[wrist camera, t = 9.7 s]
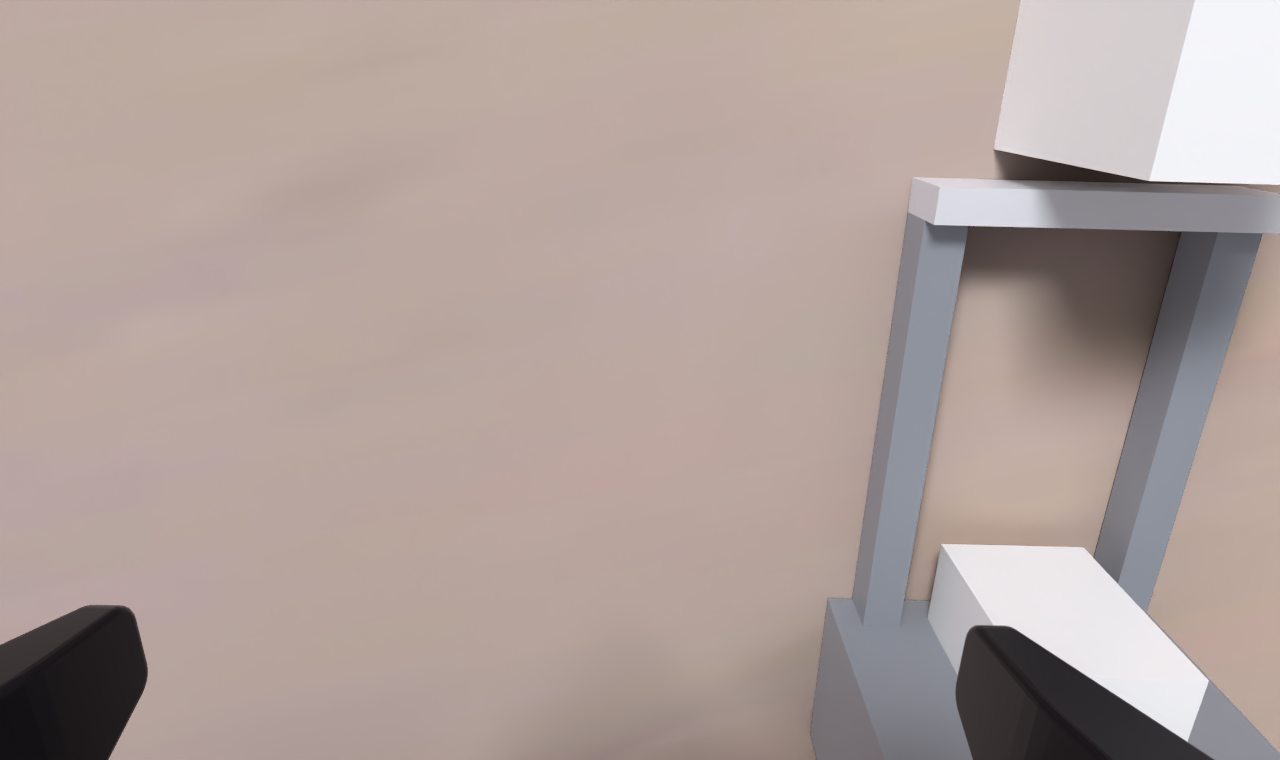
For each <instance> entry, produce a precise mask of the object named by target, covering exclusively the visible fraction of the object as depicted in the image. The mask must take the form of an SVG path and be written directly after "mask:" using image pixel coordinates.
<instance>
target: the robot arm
mask: <svg viewBox="0 0 1280 760" xmlns="http://www.w3.org/2000/svg"><path fill="white" fill-rule="evenodd" d="M147 676H148V668H147V662H146V658H145V654H144V650H143V646H142V642H141V638H140V634H139V630H138V626H137V622H136V618H135V615H134V613H133V612H132V611H131V610H130V609H129V608H127V607H125V606H120V605H89V606H84V607H82V608H79V609H77V610H75V611H73V612H71V613H68V614H66V615H64V616H62V617H60V618H58V619H56V620H53V621H51V622H49V623H47V624H45V625H43V626H40V627H38V628H36V629H34V630H32V631H30V632H27V633H25V634H23V635H21V636H19V637H17V638H14V639H12V640H10V641H8V642H6V643H4V644H1V645H0V760H108V759H109V757H110V755H111V753H112V752H113V750H114V748H115V746H116V744H117V742H118V740H119V738H120V736H121V734H122V732H123V730H124V728H125V726H126V724H127V722H128V720H129V718H130V717H131V715H132V713H133V711H134V709H135V707H136V705H137V703H138V701H139V699H140V697H141V695H142V693H143V691H144V688H145V685H146V682H147ZM955 697H956V705H957V709H958V713H959V716H960V719H961V723H962V726H963V729H964V733H965V736H966V739H967V743H968V746H969V749H970V752H971V756H972V759H973V760H1215V759H1213V758H1212V757H1210V756H1208V755H1207V754H1205V753H1204V752H1202V751H1201V750H1199V749H1198V748H1196V747H1195V746H1193V745H1192V744H1190V743H1189V742H1187V741H1186V740H1184V739H1182V738H1181V737H1179V736H1178V735H1176V734H1175V733H1173V732H1172V731H1170V730H1169V729H1167V728H1166V727H1164V726H1163V725H1161V724H1160V723H1158V722H1156V721H1155V720H1153V719H1152V718H1150V717H1149V716H1147V715H1146V714H1144V713H1143V712H1141V711H1140V710H1138V709H1137V708H1135V707H1134V706H1132V705H1131V704H1129V703H1127V702H1126V701H1124V700H1123V699H1121V698H1120V697H1118V696H1117V695H1115V694H1114V693H1112V692H1111V691H1109V690H1108V689H1106V688H1105V687H1103V686H1101V685H1100V684H1098V683H1097V682H1095V681H1094V680H1092V679H1091V678H1089V677H1088V676H1086V675H1085V674H1083V673H1082V672H1080V671H1079V670H1077V669H1076V668H1074V667H1072V666H1071V665H1069V664H1068V663H1066V662H1065V661H1063V660H1062V659H1060V658H1059V657H1057V656H1056V655H1054V654H1053V653H1051V652H1050V651H1048V650H1046V649H1045V648H1043V647H1042V646H1040V645H1039V644H1037V643H1036V642H1034V641H1033V640H1031V639H1030V638H1028V637H1027V636H1025V635H1024V634H1022V633H1020V632H1019V631H1017V630H1016V629H1014V628H1012V627H1009V626H1002V625H975V626H973V627H972V628H970V629H969V631H968V633H967V635H966V638H965V643H964V647H963V652H962V657H961V662H960V667H959V671H958V676H957V681H956V687H955Z"/></svg>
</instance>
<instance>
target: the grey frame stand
mask: <svg viewBox="0 0 1280 760" xmlns="http://www.w3.org/2000/svg"><path fill="white" fill-rule="evenodd" d="M969 226H996V227H1035V228H1074V229H1113V230H1152V231H1182V232H1181V235H1180V239H1179V243H1178V247H1177V250H1176V254H1175V258H1174V261H1173V265H1172V269H1171V273H1170V276H1169V280H1168V284H1167V288H1166V291H1165V295H1164V299H1163V302H1162V306H1161V310H1160V314H1159V317H1158V321H1157V325H1156V328H1155V332H1154V336H1153V340H1152V343H1151V347H1150V351H1149V354H1148V358H1147V362H1146V366H1145V369H1144V373H1143V377H1142V380H1141V384H1140V388H1139V392H1138V395H1137V399H1136V403H1135V407H1134V410H1133V414H1132V418H1131V421H1130V425H1129V429H1128V433H1127V436H1126V440H1125V444H1124V447H1123V451H1122V455H1121V459H1120V462H1119V466H1118V470H1117V473H1116V477H1115V481H1114V485H1113V488H1112V492H1111V496H1110V499H1109V503H1108V507H1107V511H1106V514H1105V518H1104V522H1103V526H1102V529H1101V533H1100V537H1099V540H1098V544H1097V548H1096V552H1095V555H1094V558H1093V557H1092V556H1091V555H1090V554H1089V553H1088V552H1087V551H1086V550H1085V549H1084V547H1047V546H1005V545H963V544H941V549H940V554H939V560H938V565H937V570H936V576H935V581H934V586H933V592H932V597H931V601H916V600H904V598H905V592H906V586H907V581H908V575H909V569H910V563H911V558H912V552H913V546H914V540H915V534H916V529H917V523H918V517H919V511H920V505H921V500H922V494H923V488H924V482H925V476H926V471H927V465H928V459H929V453H930V447H931V442H932V436H933V430H934V424H935V418H936V413H937V407H938V401H939V395H940V389H941V384H942V378H943V372H944V366H945V360H946V355H947V349H948V343H949V337H950V331H951V326H952V320H953V314H954V308H955V302H956V297H957V291H958V285H959V279H960V273H961V268H962V262H963V256H964V250H965V244H966V239H967V233H968V227H969ZM1263 233H1269V234H1280V193H1275V192H1269V191H1264V190H1258V189H1252V188H1247V187H1241V186H1229V185H1190V184H1151V183H1113V182H1074V181H1036V180H997V179H958V178H920V177H913V180H912V187H911V194H910V201H909V208H908V215H907V221H906V228H905V235H904V242H903V249H902V256H901V263H900V270H899V277H898V284H897V291H896V298H895V305H894V312H893V319H892V326H891V332H890V339H889V346H888V353H887V360H886V367H885V374H884V381H883V388H882V395H881V402H880V409H879V416H878V423H877V430H876V436H875V443H874V450H873V457H872V464H871V471H870V478H869V485H868V492H867V499H866V506H865V513H864V520H863V527H862V534H861V540H860V547H859V554H858V561H857V568H856V575H855V582H854V589H853V596H852V599H830V598H828V600H827V608H826V615H825V623H824V631H823V638H822V646H821V653H820V661H819V669H818V676H817V684H816V692H815V699H814V707H813V715H812V722H811V730H810V735H811V739H812V743H813V747H814V751H815V755H816V759H817V760H973V759H972V756H971V752H970V749H969V746H968V743H967V739H966V736H965V733H964V729H963V726H962V723H961V719H960V716H959V713H958V709H957V705H956V697H955V687H956V681H957V676H958V671H959V667H960V662H961V657H962V652H963V647H964V643H965V638H966V635H967V633H968V631H969V629H970V628H972V627H973V626H975V625H1002V626H1009V627H1012V628H1014V629H1016V630H1017V631H1019V632H1020V633H1022V634H1024V635H1025V636H1027V637H1028V638H1030V639H1031V640H1033V641H1034V642H1036V643H1037V644H1039V645H1040V646H1042V647H1043V648H1045V649H1046V650H1048V651H1050V652H1051V653H1053V654H1054V655H1056V656H1057V657H1059V658H1060V659H1062V660H1063V661H1065V662H1066V663H1068V664H1069V665H1071V666H1072V667H1074V668H1076V669H1077V670H1079V671H1080V672H1082V673H1083V674H1085V675H1086V676H1088V677H1089V678H1091V679H1092V680H1094V681H1095V682H1097V683H1098V684H1100V685H1101V686H1103V687H1105V688H1106V689H1108V690H1109V691H1111V692H1112V693H1114V694H1115V695H1117V696H1118V697H1120V698H1121V699H1123V700H1124V701H1126V702H1127V703H1129V704H1131V705H1132V706H1134V707H1135V708H1137V709H1138V710H1140V711H1141V712H1143V713H1144V714H1146V715H1147V716H1149V717H1150V718H1152V719H1153V720H1155V721H1156V722H1158V723H1160V724H1161V725H1163V726H1164V727H1166V728H1167V729H1169V730H1170V731H1172V732H1173V733H1175V734H1176V735H1178V736H1179V737H1181V738H1182V739H1184V740H1186V741H1187V742H1189V743H1190V744H1192V745H1193V746H1195V747H1196V748H1198V749H1199V750H1201V751H1202V752H1204V753H1205V754H1207V755H1208V756H1210V757H1212V758H1213V759H1215V760H1280V753H1279V752H1278V751H1277V750H1276V749H1275V748H1274V747H1273V746H1272V745H1271V744H1270V743H1269V741H1268V740H1267V739H1266V738H1265V737H1264V736H1263V735H1262V734H1261V733H1260V732H1259V731H1258V730H1257V729H1256V728H1255V727H1254V726H1253V725H1252V723H1251V722H1250V721H1249V720H1248V719H1247V718H1246V717H1245V716H1244V715H1243V714H1242V713H1241V712H1240V711H1239V710H1238V709H1237V708H1236V707H1235V705H1234V704H1233V703H1232V702H1231V701H1230V700H1229V699H1228V698H1227V697H1226V696H1225V695H1224V694H1223V693H1222V692H1221V691H1220V690H1219V689H1218V687H1217V686H1216V685H1215V684H1214V683H1213V682H1212V681H1211V680H1210V679H1209V678H1208V677H1207V676H1206V675H1205V674H1204V673H1203V672H1202V671H1201V670H1200V668H1199V667H1198V666H1197V665H1196V664H1195V663H1194V662H1193V661H1192V660H1191V659H1190V658H1189V657H1188V656H1187V655H1186V654H1185V653H1184V652H1183V650H1182V649H1181V648H1180V647H1179V646H1178V645H1177V644H1176V643H1175V642H1174V641H1173V640H1172V639H1171V638H1170V637H1169V636H1168V635H1167V634H1166V632H1165V631H1164V630H1163V629H1162V628H1161V627H1160V626H1159V625H1158V624H1157V623H1156V622H1155V621H1154V620H1153V619H1152V618H1151V617H1150V616H1149V614H1148V613H1147V610H1148V607H1149V603H1150V600H1151V597H1152V594H1153V590H1154V587H1155V584H1156V580H1157V577H1158V574H1159V571H1160V567H1161V564H1162V561H1163V558H1164V554H1165V551H1166V548H1167V544H1168V541H1169V538H1170V535H1171V531H1172V528H1173V525H1174V522H1175V518H1176V515H1177V512H1178V508H1179V505H1180V502H1181V499H1182V495H1183V492H1184V489H1185V486H1186V482H1187V479H1188V476H1189V473H1190V469H1191V466H1192V463H1193V459H1194V456H1195V453H1196V450H1197V446H1198V443H1199V440H1200V437H1201V433H1202V430H1203V427H1204V423H1205V420H1206V417H1207V414H1208V410H1209V407H1210V404H1211V401H1212V397H1213V394H1214V391H1215V387H1216V384H1217V381H1218V378H1219V374H1220V371H1221V368H1222V365H1223V361H1224V358H1225V355H1226V351H1227V348H1228V345H1229V342H1230V338H1231V335H1232V332H1233V329H1234V325H1235V322H1236V319H1237V316H1238V312H1239V309H1240V306H1241V302H1242V299H1243V296H1244V293H1245V289H1246V286H1247V283H1248V280H1249V276H1250V273H1251V270H1252V266H1253V263H1254V260H1255V257H1256V253H1257V250H1258V247H1259V244H1260V240H1261V237H1262V234H1263Z"/></svg>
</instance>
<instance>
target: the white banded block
mask: <svg viewBox="0 0 1280 760" xmlns="http://www.w3.org/2000/svg"><path fill="white" fill-rule="evenodd" d="M994 149H995V150H1000V151H1005V152H1010V153H1015V154H1020V155H1024V156H1029V157H1034V158H1039V159H1044V160H1049V161H1054V162H1059V163H1063V164H1068V165H1073V166H1078V167H1083V168H1088V169H1093V170H1098V171H1102V172H1107V173H1112V174H1117V175H1122V176H1127V177H1132V178H1137V179H1142V180H1146V181H1164V182H1200V183H1235V184H1270V185H1280V0H1020V6H1019V11H1018V17H1017V22H1016V28H1015V33H1014V39H1013V44H1012V50H1011V56H1010V61H1009V67H1008V72H1007V78H1006V83H1005V89H1004V94H1003V100H1002V105H1001V111H1000V116H999V122H998V127H997V133H996V138H995V144H994Z"/></svg>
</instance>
